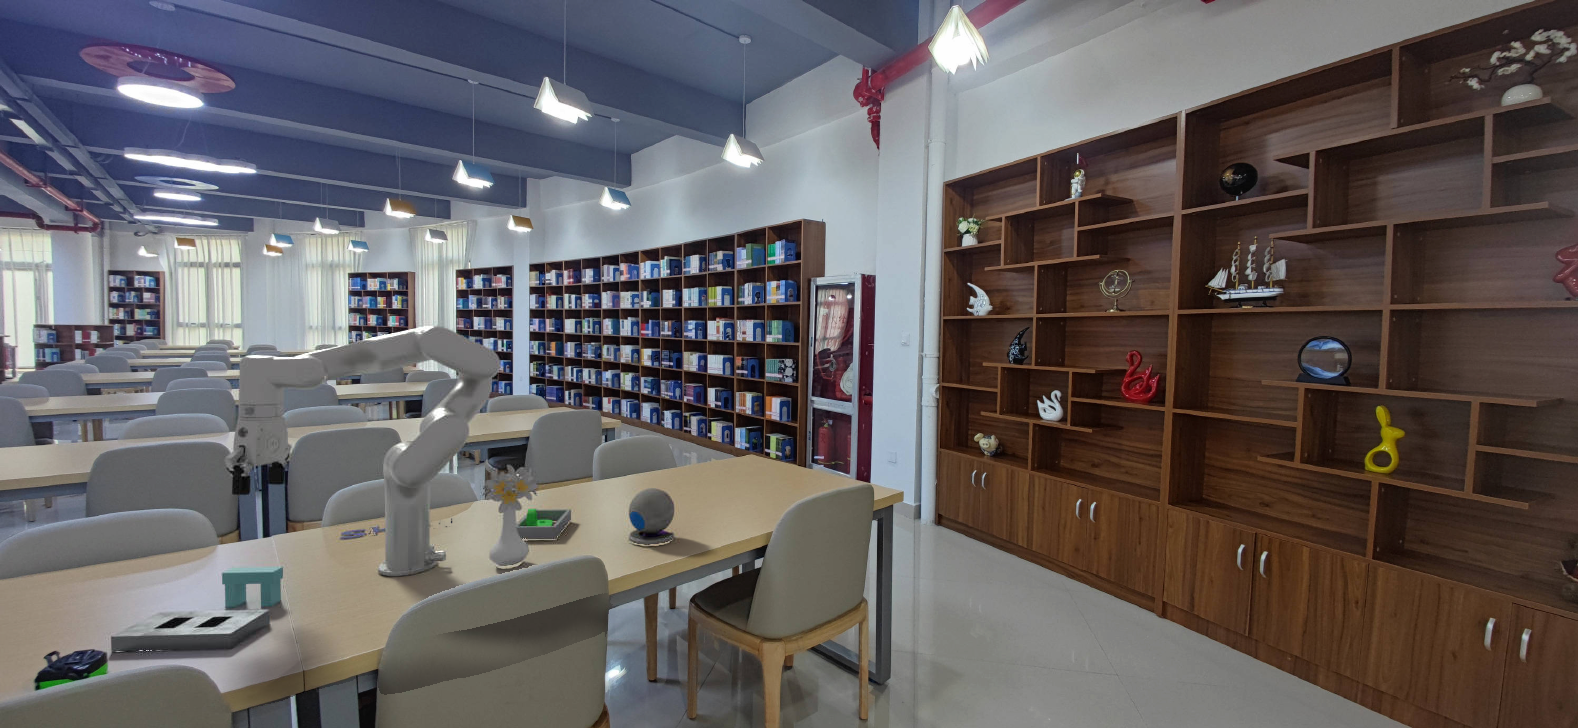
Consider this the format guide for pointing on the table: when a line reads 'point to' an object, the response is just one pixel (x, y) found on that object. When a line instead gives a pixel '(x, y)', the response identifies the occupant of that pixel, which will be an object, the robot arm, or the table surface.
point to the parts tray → (544, 531)
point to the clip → (252, 575)
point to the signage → (375, 529)
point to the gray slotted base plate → (191, 630)
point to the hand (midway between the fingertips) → (259, 489)
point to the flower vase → (509, 513)
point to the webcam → (651, 517)
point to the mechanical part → (533, 519)
